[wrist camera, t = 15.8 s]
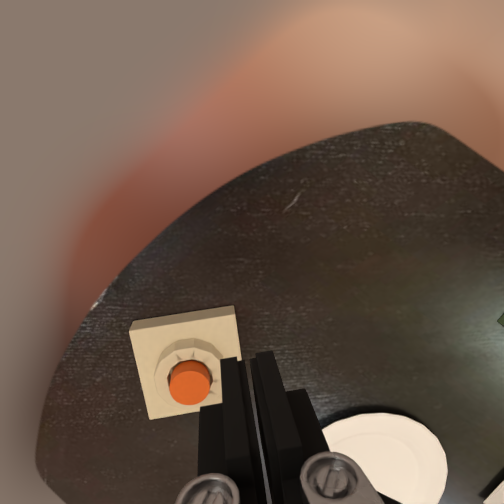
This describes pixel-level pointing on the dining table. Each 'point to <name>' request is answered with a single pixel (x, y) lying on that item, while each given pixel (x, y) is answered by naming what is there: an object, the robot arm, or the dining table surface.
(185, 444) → the dining table surface
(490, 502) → the dessert
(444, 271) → the dining table surface
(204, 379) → the button
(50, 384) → the dining table surface
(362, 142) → the dining table surface
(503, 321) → the dial panel
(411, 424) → the plate
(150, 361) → the square push button base
